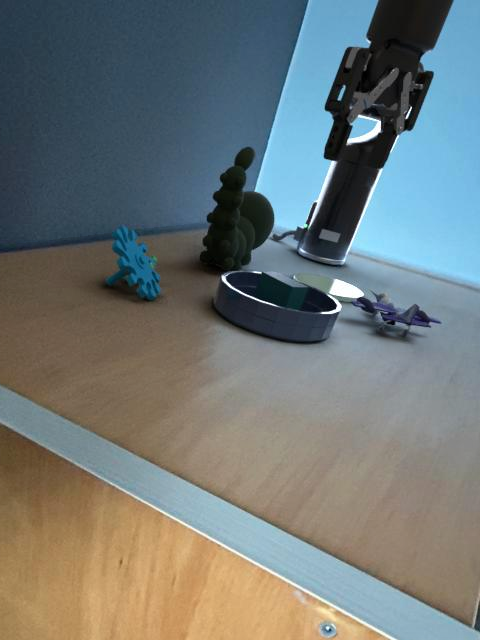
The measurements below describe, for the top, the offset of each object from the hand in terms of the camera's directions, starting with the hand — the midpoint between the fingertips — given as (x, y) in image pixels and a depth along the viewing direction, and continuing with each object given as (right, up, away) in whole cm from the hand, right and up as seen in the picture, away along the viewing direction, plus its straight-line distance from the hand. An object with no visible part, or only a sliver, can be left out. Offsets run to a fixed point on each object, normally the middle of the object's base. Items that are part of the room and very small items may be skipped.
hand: (352, 164), depth 71 cm
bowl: (-8, -17, +8) cm, 20 cm away
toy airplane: (+11, -15, +15) cm, 24 cm away
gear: (-27, -13, +7) cm, 31 cm away
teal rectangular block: (-8, -16, +7) cm, 20 cm away
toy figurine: (-9, 0, +29) cm, 30 cm away
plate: (+8, -5, +27) cm, 29 cm away
